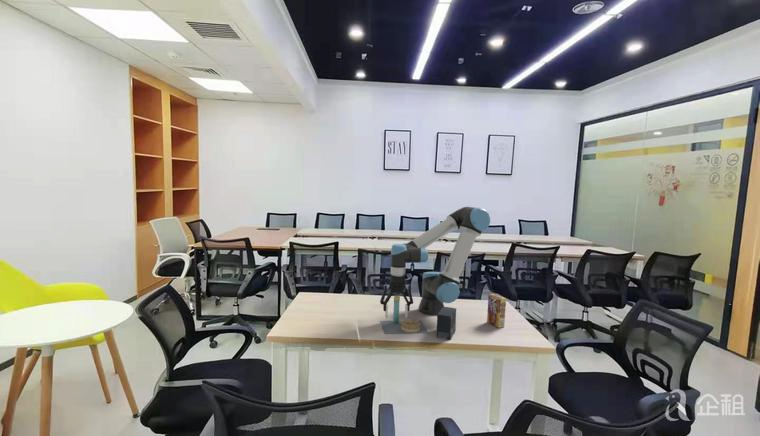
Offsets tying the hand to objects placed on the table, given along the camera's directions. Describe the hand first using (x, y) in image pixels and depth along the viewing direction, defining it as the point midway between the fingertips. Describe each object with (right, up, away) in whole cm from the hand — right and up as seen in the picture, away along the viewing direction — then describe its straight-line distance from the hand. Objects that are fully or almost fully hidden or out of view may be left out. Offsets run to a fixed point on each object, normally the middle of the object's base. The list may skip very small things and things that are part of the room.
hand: (396, 317), depth 181 cm
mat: (+4, -4, -5) cm, 7 cm away
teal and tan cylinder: (0, -3, 0) cm, 3 cm away
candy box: (+53, -5, +4) cm, 53 cm away
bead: (+7, -4, -7) cm, 10 cm away
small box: (+24, -6, -12) cm, 27 cm away
